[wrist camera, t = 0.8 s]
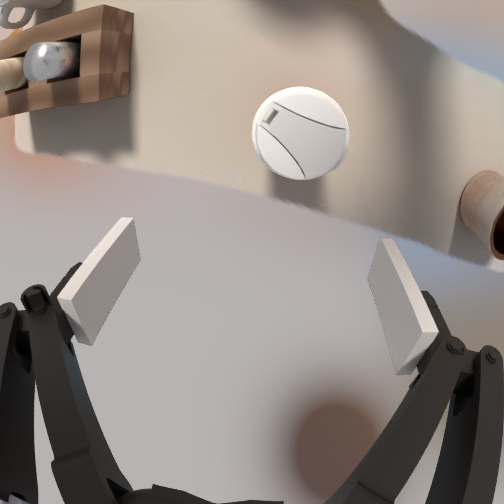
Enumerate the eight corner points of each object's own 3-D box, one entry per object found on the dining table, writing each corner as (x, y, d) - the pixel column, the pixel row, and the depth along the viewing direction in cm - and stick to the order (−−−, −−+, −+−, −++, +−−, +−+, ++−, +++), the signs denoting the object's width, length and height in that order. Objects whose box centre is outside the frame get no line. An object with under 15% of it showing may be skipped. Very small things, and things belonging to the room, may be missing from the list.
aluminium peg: (64, 45, 26) (23, 47, 19) (91, 39, 26) (51, 38, 19) (63, 77, 28) (22, 84, 22) (90, 72, 28) (50, 77, 22)
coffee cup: (247, 122, 36) (230, 149, 24) (284, 71, 32) (289, 67, 20) (301, 158, 38) (313, 204, 26) (339, 109, 34) (374, 131, 22)
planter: (512, 179, 35) (546, 203, 27) (491, 234, 41) (519, 265, 33) (470, 160, 35) (506, 184, 27) (449, 223, 41) (477, 256, 33)
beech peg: (20, 59, 26) (-19, 66, 19) (40, 52, 26) (0, 57, 19) (20, 87, 28) (-19, 98, 22) (40, 82, 28) (0, 91, 22)
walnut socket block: (28, 40, 28) (-6, 43, 22) (133, 13, 28) (103, 4, 21) (28, 107, 35) (-5, 119, 28) (129, 94, 34) (98, 101, 28)
